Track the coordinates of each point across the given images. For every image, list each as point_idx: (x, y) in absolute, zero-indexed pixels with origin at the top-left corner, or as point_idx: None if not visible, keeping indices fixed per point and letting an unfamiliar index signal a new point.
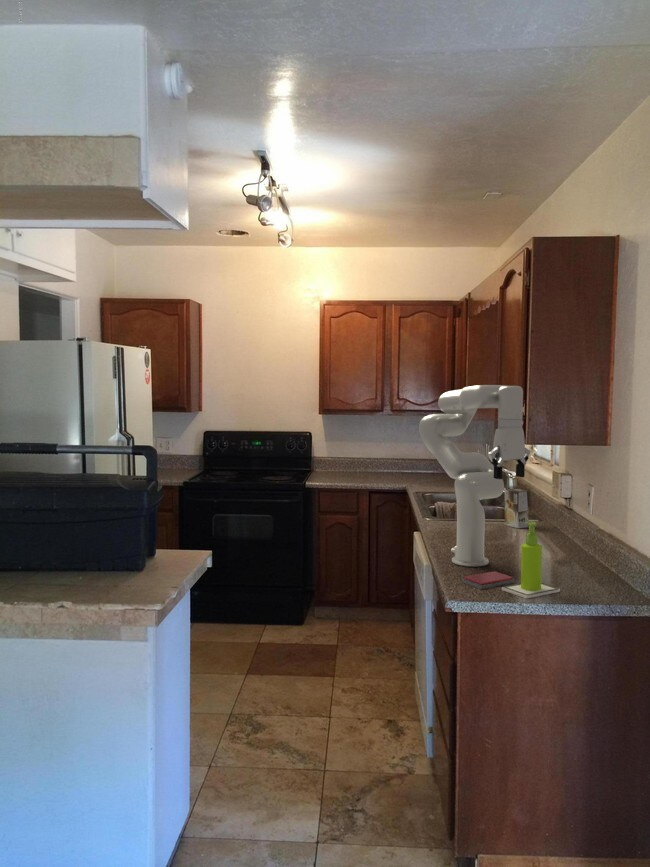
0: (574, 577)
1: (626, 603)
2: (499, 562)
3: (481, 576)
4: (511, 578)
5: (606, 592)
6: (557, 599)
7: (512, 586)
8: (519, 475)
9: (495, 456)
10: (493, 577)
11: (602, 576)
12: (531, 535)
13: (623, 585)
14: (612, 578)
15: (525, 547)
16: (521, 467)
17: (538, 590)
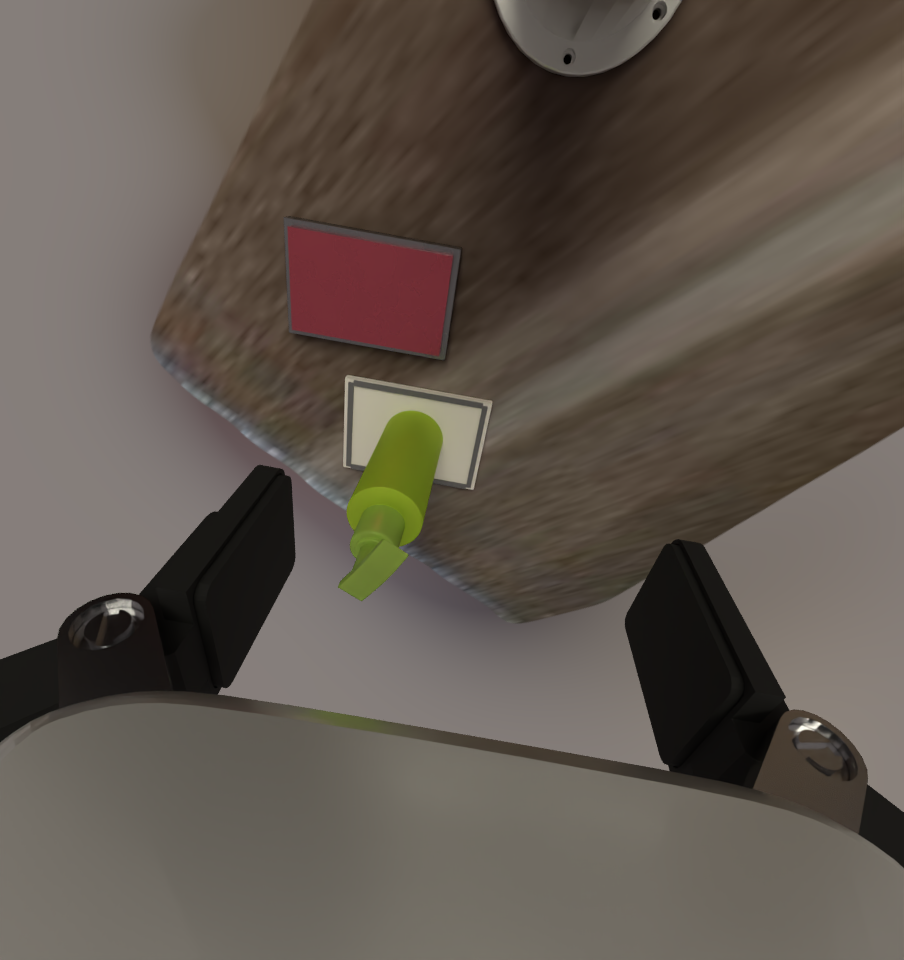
0: (657, 441)
1: (508, 604)
2: (707, 73)
3: (350, 272)
4: (433, 353)
5: (560, 553)
6: None
7: (381, 393)
8: (646, 596)
9: (130, 752)
10: (378, 312)
11: (728, 488)
12: (355, 556)
13: None
14: (721, 513)
15: (347, 514)
16: (664, 721)
17: None
